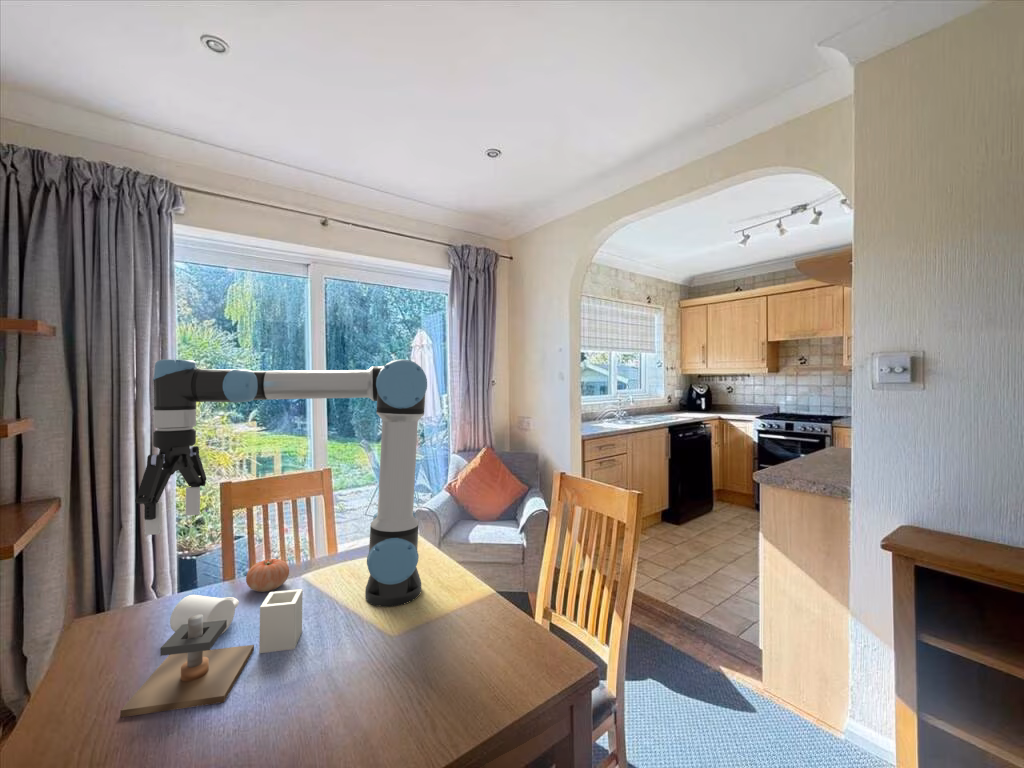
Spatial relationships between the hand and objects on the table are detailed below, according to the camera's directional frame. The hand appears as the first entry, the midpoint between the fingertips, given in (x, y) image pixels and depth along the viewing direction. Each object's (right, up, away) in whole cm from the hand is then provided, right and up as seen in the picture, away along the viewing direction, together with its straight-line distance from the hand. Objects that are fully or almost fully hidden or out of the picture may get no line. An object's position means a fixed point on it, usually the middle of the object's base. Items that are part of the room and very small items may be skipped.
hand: (174, 523), depth 97 cm
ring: (+13, -19, -12) cm, 26 cm away
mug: (+4, -27, +7) cm, 28 cm away
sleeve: (+23, -27, +1) cm, 36 cm away
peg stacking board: (+13, -27, -12) cm, 32 cm away
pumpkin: (+6, -27, +27) cm, 39 cm away
